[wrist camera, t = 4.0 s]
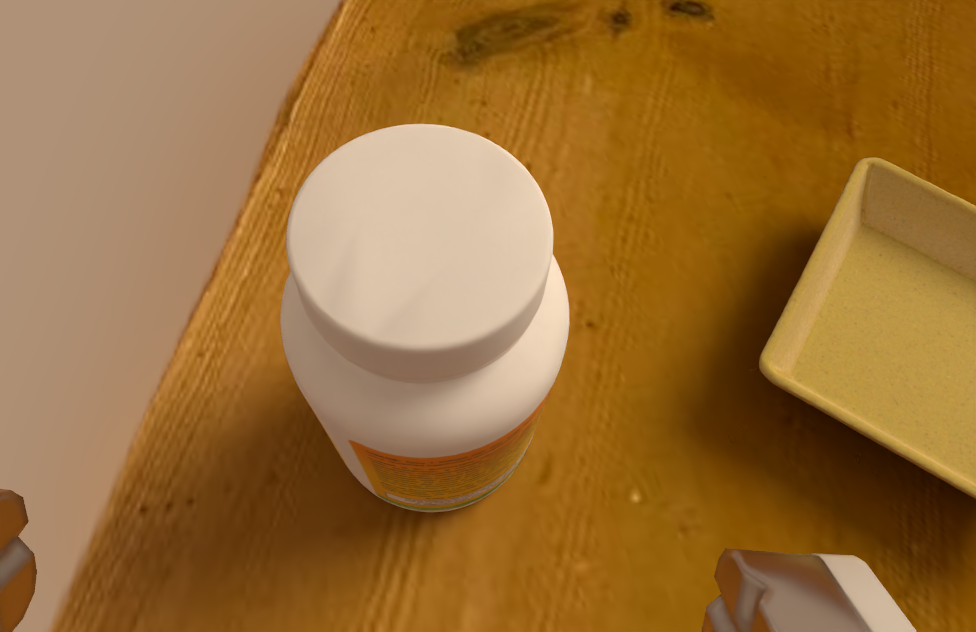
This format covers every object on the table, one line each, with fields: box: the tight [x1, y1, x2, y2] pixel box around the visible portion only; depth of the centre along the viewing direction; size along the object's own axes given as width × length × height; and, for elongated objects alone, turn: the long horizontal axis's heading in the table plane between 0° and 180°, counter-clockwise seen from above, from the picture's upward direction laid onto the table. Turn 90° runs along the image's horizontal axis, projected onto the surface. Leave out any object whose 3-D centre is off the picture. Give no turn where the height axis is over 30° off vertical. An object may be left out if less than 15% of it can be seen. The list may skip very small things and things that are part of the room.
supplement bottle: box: [281, 124, 569, 512], centre depth 15 cm, size 5×5×10 cm
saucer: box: [759, 158, 976, 499], centre depth 20 cm, size 9×9×2 cm
